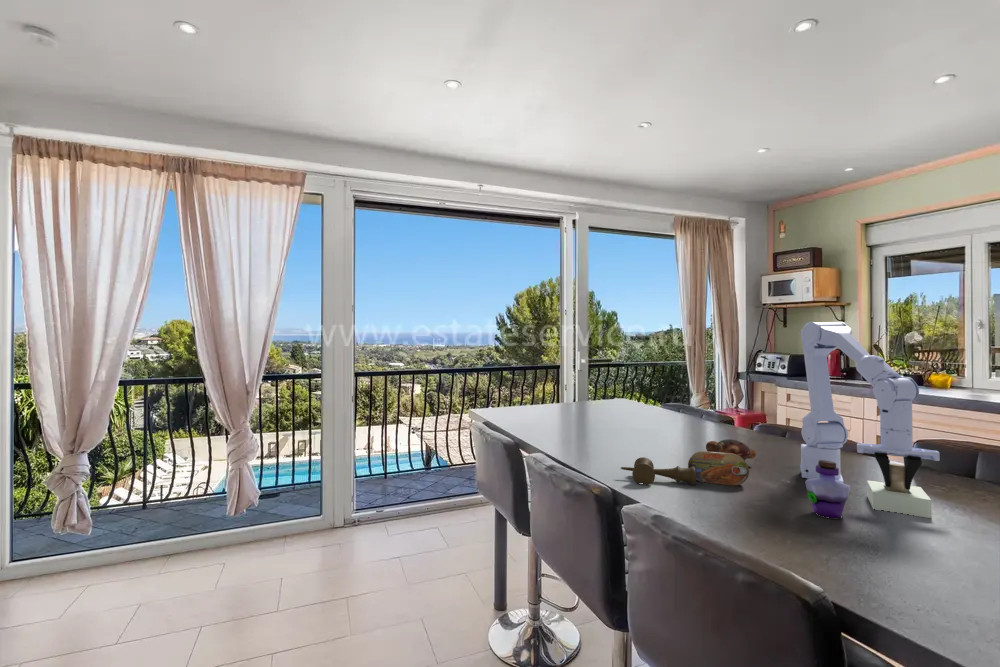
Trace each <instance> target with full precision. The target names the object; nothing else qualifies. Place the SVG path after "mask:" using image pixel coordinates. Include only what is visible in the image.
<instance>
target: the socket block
mask: <svg viewBox="0 0 1000 667" xmlns="http://www.w3.org/2000/svg"><path fill="white" fill-rule="evenodd" d="M866 492H867V494H866V496H867V497H866V498H867V499H868V501H869V503H870V505H871V508H872V510H874V509H875V510H876V511H881V510H884V511H883V512H887V511H890V512H889V513H894V512H897V513H896V514H900V513H903V515H907V514H909V515H908V516H913V515H914V516H915V517H920V518H921V517H922V518H927V519H932V517H933V516H932V514H933V512H932V510H933V509H932V499H931V498H930V496H928V494H927V493H926V491H924V490H923V488H922V487H921V486H913V485H911V486H910V490H908V489H906V493H900V492H893V491H889V487H886V485H885V482H882V481H874V480H869V479H868V480H866Z"/></svg>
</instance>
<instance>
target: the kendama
mask: <svg viewBox="0 0 1000 667" xmlns="http://www.w3.org/2000/svg"><path fill="white" fill-rule="evenodd" d="M633 463H634V465H633V467H631V466H630V467H627V466H621V467H620V470H623V471H628V472H632V473H631V474H632V478H633V480H634V482H635V483H637V484H638V483H643V484H650V485H652V484H653V483H654V481H655V478H656V476H660V477H665V478H668V479H672V480H674V481H676V482H677V483H680V482H685V483H689V484H690V485H692V486H695V485H696V482H697V480H696V469H695V467H694V466H692V467H690V468H688V467H680V466H679V465H677V466H676V467H671V468H655V466H654V462H653V461H652V459H650V458H648V457H646V456H644V457H638V458H637V459H635V461H634V462H633Z"/></svg>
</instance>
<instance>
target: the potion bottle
mask: <svg viewBox="0 0 1000 667" xmlns="http://www.w3.org/2000/svg"><path fill="white" fill-rule="evenodd" d="M816 472H817V473H820V478H811V479H810V478H806V480H805V481H804V483H805V487H806V488H805V489H806V492H807V498H808V501H809V502H811V505H812V509H813V514H814V513H817V514H818V515H820V516H824V517H829V518H841V516H843V513H844V509H845V505H846V502H847V500H848V498H849V496H850V495H849V493H850V491H851V485H850V484H847V483H842V482H840V481H836V480H835V476H838V475H839V468H837V467H836V463H835V462H831V461H826V460H819V462H818V465H816ZM818 515H817V516H818ZM820 516H819V517H820ZM824 517H823V518H824Z"/></svg>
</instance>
